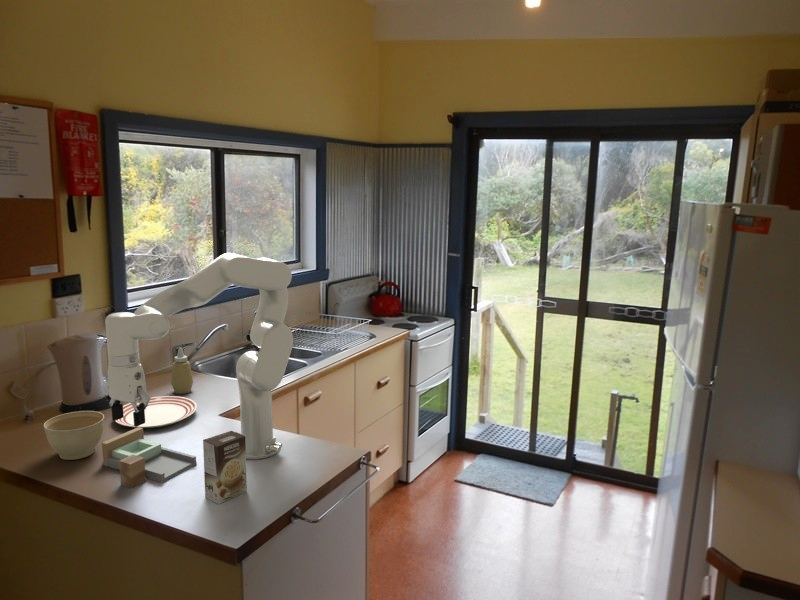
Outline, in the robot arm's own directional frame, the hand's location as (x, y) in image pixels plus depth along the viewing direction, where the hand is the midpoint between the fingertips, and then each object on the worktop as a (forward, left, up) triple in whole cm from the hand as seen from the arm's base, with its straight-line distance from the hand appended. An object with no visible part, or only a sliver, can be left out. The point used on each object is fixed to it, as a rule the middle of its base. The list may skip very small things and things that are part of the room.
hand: (128, 421), depth 166 cm
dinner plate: (+32, -37, -18) cm, 52 cm away
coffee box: (-27, -7, -18) cm, 33 cm away
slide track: (+5, -10, -18) cm, 21 cm away
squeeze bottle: (+44, -61, -18) cm, 77 cm away
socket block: (+10, -10, -17) cm, 22 cm away
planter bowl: (+30, -5, -18) cm, 35 cm away
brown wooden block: (0, 0, -18) cm, 18 cm away
